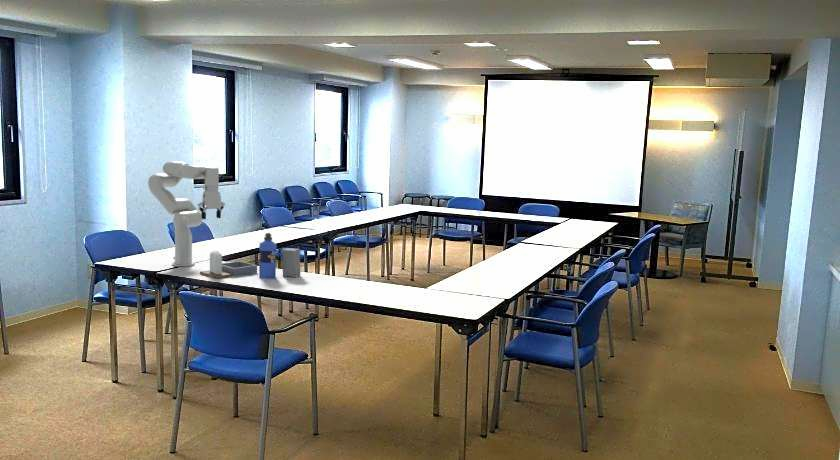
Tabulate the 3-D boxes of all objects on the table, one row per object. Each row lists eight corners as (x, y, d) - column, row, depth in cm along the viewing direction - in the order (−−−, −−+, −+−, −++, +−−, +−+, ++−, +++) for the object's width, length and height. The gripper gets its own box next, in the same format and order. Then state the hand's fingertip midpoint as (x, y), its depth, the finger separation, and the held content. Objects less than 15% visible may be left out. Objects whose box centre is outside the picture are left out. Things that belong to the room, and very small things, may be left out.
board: (200, 274, 393) (200, 271, 392) (215, 271, 400) (215, 269, 400) (216, 279, 383) (216, 276, 382) (232, 276, 390) (232, 274, 390)
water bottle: (279, 276, 397) (280, 233, 393) (269, 279, 388) (269, 235, 385) (265, 274, 400) (266, 231, 397) (255, 277, 392) (256, 233, 388)
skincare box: (300, 275, 402) (301, 248, 399) (294, 278, 395) (295, 250, 393) (287, 274, 404) (288, 247, 402) (281, 276, 398) (281, 248, 395)
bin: (216, 271, 401) (216, 264, 400) (240, 268, 413) (240, 260, 413) (233, 276, 391) (233, 268, 390) (257, 272, 403) (257, 265, 403)
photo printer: (208, 271, 394) (208, 249, 392) (216, 270, 397) (216, 249, 395) (215, 274, 386) (215, 252, 384) (222, 274, 389) (223, 252, 387)
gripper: (201, 189, 389) (201, 220, 392) (228, 188, 402) (227, 218, 405) (194, 188, 394) (194, 218, 396) (220, 187, 407) (220, 216, 409)
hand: (211, 218), depth 401 cm, fingers open, 9 cm apart
